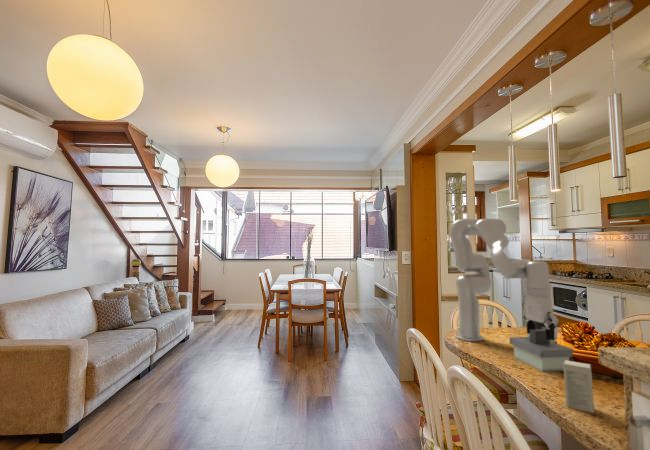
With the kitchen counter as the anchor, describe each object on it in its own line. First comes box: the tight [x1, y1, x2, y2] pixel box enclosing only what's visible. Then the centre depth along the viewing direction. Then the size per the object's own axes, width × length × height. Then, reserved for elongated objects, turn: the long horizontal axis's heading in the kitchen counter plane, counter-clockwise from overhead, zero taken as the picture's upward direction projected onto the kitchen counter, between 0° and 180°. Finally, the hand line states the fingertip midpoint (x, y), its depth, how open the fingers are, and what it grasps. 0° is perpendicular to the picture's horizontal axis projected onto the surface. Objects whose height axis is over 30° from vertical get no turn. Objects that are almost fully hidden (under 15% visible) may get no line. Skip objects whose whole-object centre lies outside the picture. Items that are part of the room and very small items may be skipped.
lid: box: [509, 329, 574, 358], centre depth 128 cm, size 17×13×8 cm
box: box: [513, 345, 570, 373], centre depth 128 cm, size 15×11×7 cm
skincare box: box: [563, 360, 595, 413], centre depth 94 cm, size 6×4×12 cm
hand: (540, 336), depth 128 cm, fingers open, 9 cm apart
